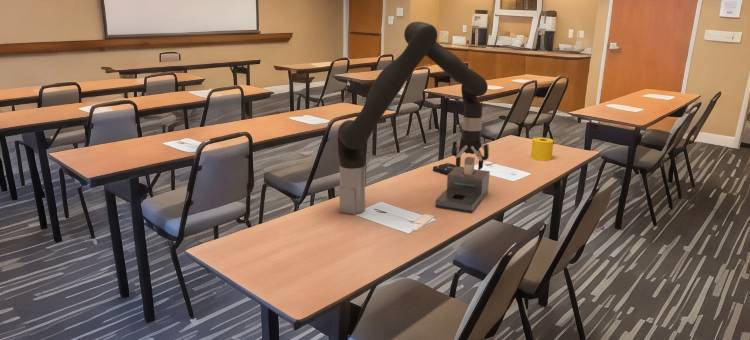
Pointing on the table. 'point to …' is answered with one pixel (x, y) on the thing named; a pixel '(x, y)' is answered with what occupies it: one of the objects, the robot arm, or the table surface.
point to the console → (464, 190)
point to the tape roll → (542, 149)
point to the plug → (469, 166)
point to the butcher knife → (422, 221)
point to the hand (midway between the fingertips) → (469, 167)
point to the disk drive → (444, 168)
